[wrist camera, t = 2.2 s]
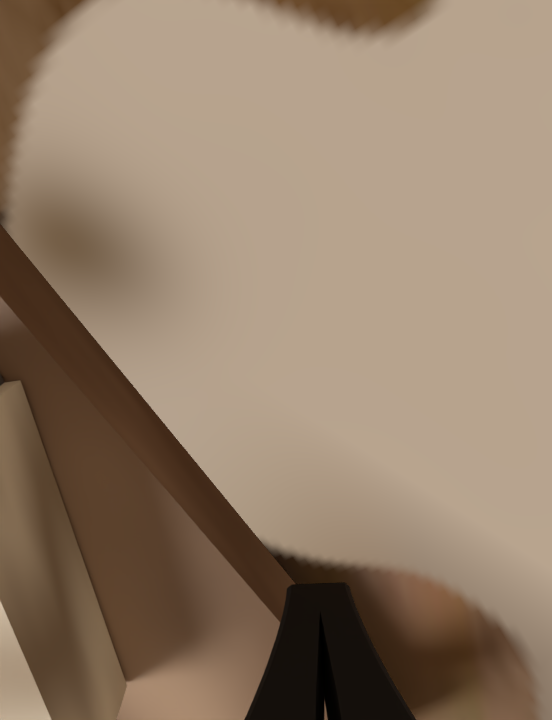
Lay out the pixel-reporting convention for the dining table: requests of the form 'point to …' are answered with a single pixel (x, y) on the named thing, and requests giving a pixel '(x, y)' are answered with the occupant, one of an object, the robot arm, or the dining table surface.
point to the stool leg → (46, 590)
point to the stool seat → (142, 518)
